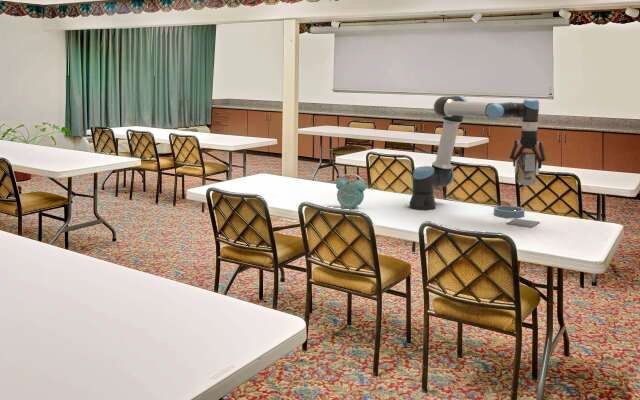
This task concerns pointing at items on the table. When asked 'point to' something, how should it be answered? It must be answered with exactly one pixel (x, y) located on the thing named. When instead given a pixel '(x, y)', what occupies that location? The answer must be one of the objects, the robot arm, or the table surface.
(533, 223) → the mat
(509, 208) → the bowl
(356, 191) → the alarm clock
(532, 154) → the coffee box
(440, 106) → the robot arm
